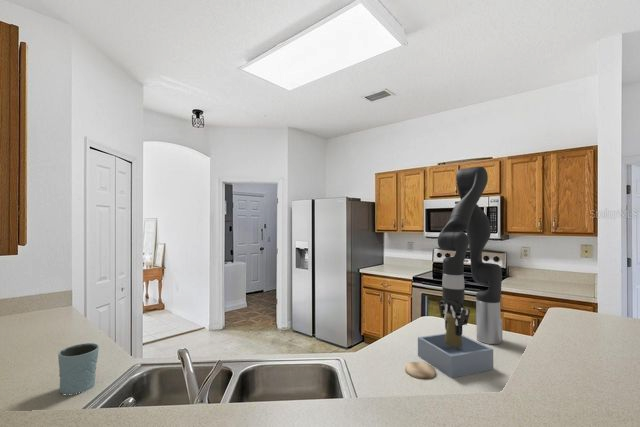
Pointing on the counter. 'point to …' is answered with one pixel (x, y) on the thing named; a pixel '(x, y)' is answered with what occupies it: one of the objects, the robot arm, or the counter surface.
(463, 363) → the bin
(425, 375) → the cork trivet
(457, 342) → the pepper shaker
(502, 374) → the counter surface
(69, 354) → the blue-grey textured cup
